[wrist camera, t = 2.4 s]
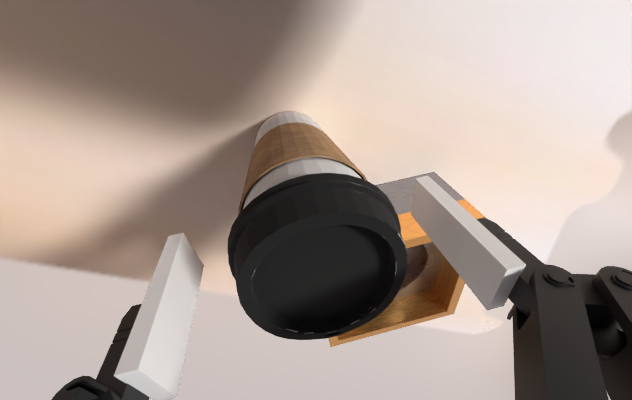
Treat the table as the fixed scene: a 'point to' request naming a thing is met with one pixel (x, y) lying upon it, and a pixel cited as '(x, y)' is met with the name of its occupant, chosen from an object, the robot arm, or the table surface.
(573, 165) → the table surface
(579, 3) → the table surface
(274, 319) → the coffee cup
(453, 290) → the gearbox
